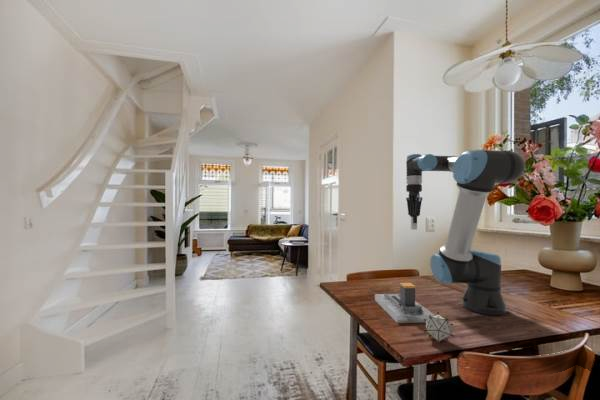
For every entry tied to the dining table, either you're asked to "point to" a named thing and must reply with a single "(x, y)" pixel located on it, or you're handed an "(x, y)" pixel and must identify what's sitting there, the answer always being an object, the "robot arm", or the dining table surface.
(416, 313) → the fader console
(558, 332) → the dining table surface
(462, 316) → the dining table surface
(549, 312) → the dining table surface
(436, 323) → the game die
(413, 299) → the fader knob
